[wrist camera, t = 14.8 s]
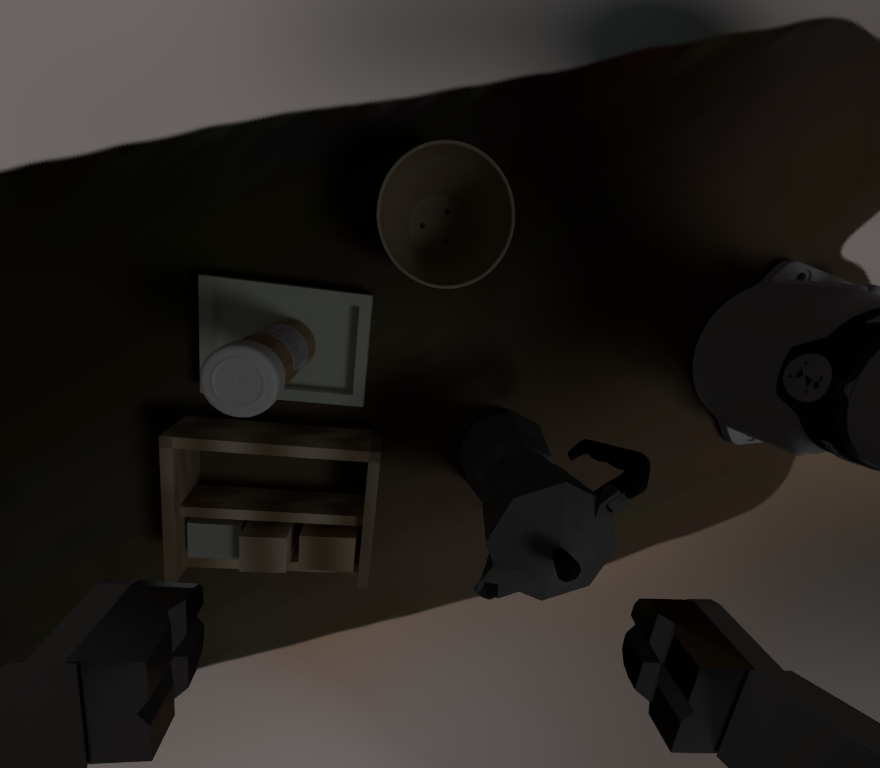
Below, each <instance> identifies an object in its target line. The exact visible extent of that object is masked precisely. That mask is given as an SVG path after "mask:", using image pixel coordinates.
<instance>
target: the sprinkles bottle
mask: <svg viewBox="0 0 880 768" xmlns="http://www.w3.org/2000/svg"><path fill="white" fill-rule="evenodd" d="M315 349H316V343H315V338H314V336H313V333H312V332H311V330H310V329H309V328H308V327H307V326H306V325H305V324H304V323H302V322H300V321H298V320H294V319H282V320H279V321H276V322H274V323H273V324H271V325H270V326H267V327H265V328H263V329H261V330H259V331H257V332H255V333H253V334H250V335H248V336H246V337H244V338H243V339H241V340H236V341H232V342H230V343H227V344H225V345H223V346H221V347H219V348H218V349H216V350H215V351H213V352H212V353H211V354H210V355H209V356H208V357H207V358H206V359H205V361H204V363H203V365H202V367H201V371H200V385H201V389H202V391H203V394H204V396H205V397H206V399H207V400H208V401H209V403H210V404H211V405H212V406H213V407H215V408H216V409H217V410H219V411H221V412H222V413H224V414H227V415H230V416H234V417H252V416H255V415H258V414H260V413H262V412H264V411H265V410H267V409H268V408H269V407H270V406H271V405H272V404H273V403H274V402H275V401H276V400H277V399H278V398H279V396H280V395H281V393H282V391H283V388H284V387H285V386H286V385H287V384H288V383H289V382H290V381H291V380H292V379H293V378H294V377H295V376H296V375H297V374H298V373H299V372H300V371H301V370H302V369H303V367H304V366H305V365H306V364H307V363H308V362H310V361H311V359H312V357H313V355H314V353H315Z"/></svg>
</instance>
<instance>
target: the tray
mask: <svg viewBox="0 0 880 768" xmlns="http://www.w3.org/2000/svg"><path fill="white" fill-rule="evenodd" d="M198 291H199V354H200V371H201V367H202V365H203V363H204V361H205V359H206V358H207V357H208V356H209V355H210V354H211V353H212V352H213V351H215V350H216V349H218V348H219V347H221V346H223V345H225V344H227V343H230V342H232V341H236V340H241V339H243V338H244V337H246V336H248V335H250V334H253V333H255V332H257V331H259V330H261V329H263V328H265V327H267V326H270V325H271V324H273V323H274V322H276V321H279V320H282V319H294V320H298V321H300V322H302V323H304V324H305V325H306V326H307V327H308V328H309V329H310V330H311V332H312V333H313V336H314V338H315V343H316V349H315V353H314V355H313V357H312V359H311V361H310V362H308V363H307V364H306V365H305V366H304V367H303V369H302V370H301V371H300V372H299V373H298V374H297V375H296V376H295V377H294V378H293V379H292V380H291V381H290V382H289V383H288V384H287V385H286V386H285V387H284V388H283V391H282V393H281V395H280V396H279V398H278V400H290V401H301V402H312V403H324V404H335V405H347V406H358V407H363V405H364V400H365V389H366V377H367V365H368V354H369V342H370V330H371V318H372V307H373V295H374V294H367V293H359V292H351V291H342V290H334V289H326V288H318V287H309V286H301V285H293V284H285V283H276V282H268V281H260V280H252V279H243V278H235V277H227V276H219V275H211V274H204V275H198ZM200 393H203V391H202V389H201V385H200Z"/></svg>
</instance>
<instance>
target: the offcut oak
mask: <svg viewBox="0 0 880 768" xmlns="http://www.w3.org/2000/svg"><path fill="white" fill-rule="evenodd" d="M358 528H359V526H349V525H330V524H311V523H304V525H303V528H302V530H301V533H300V537H299V560H298V570H318V571H346V572H353V568H354V561H355V554H356V547H357V540H358Z"/></svg>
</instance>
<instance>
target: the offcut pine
mask: <svg viewBox="0 0 880 768" xmlns="http://www.w3.org/2000/svg"><path fill="white" fill-rule="evenodd" d="M298 537H299V523H292V522H273V521H254V520H249V521H248V522H247V524H246V526H245V527H244V529H243V531H242V533H241V534H240V536H239V572H271V573H286V570H287V567H288V565H289V562H290V559H291V556H292V553H293V551H294V548H295V545H296V542H297V540H298Z"/></svg>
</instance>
